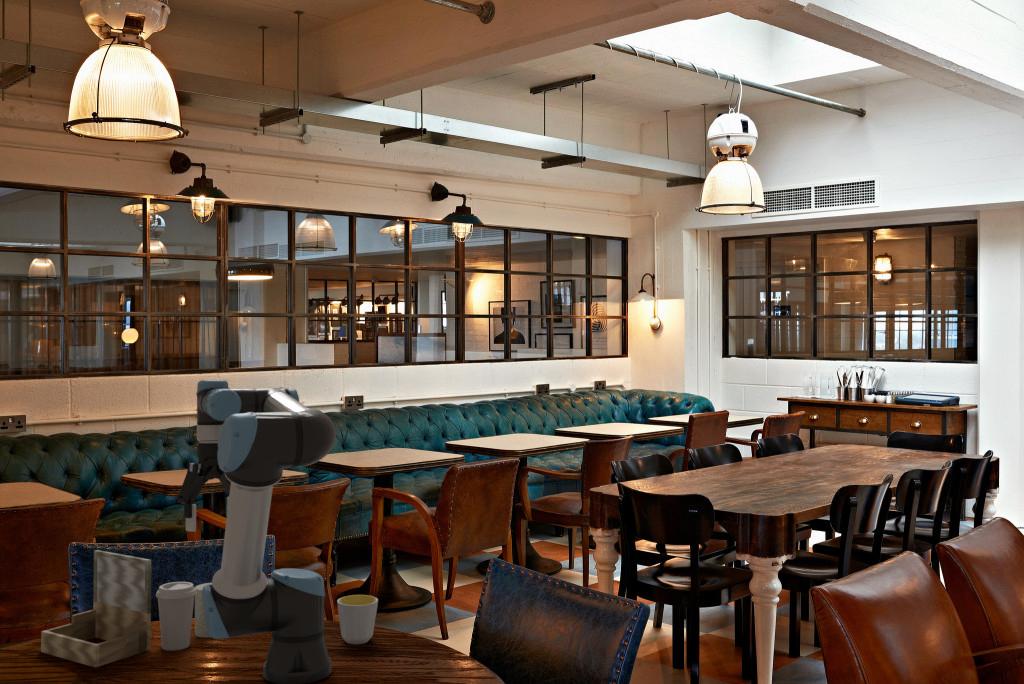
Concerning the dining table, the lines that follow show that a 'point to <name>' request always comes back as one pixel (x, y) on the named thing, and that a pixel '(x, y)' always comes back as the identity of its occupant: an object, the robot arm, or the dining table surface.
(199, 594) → the white cylinder
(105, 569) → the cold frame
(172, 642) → the coffee cup
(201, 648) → the dining table surface
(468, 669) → the dining table surface
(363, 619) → the mug
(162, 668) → the dining table surface
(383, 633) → the dining table surface
